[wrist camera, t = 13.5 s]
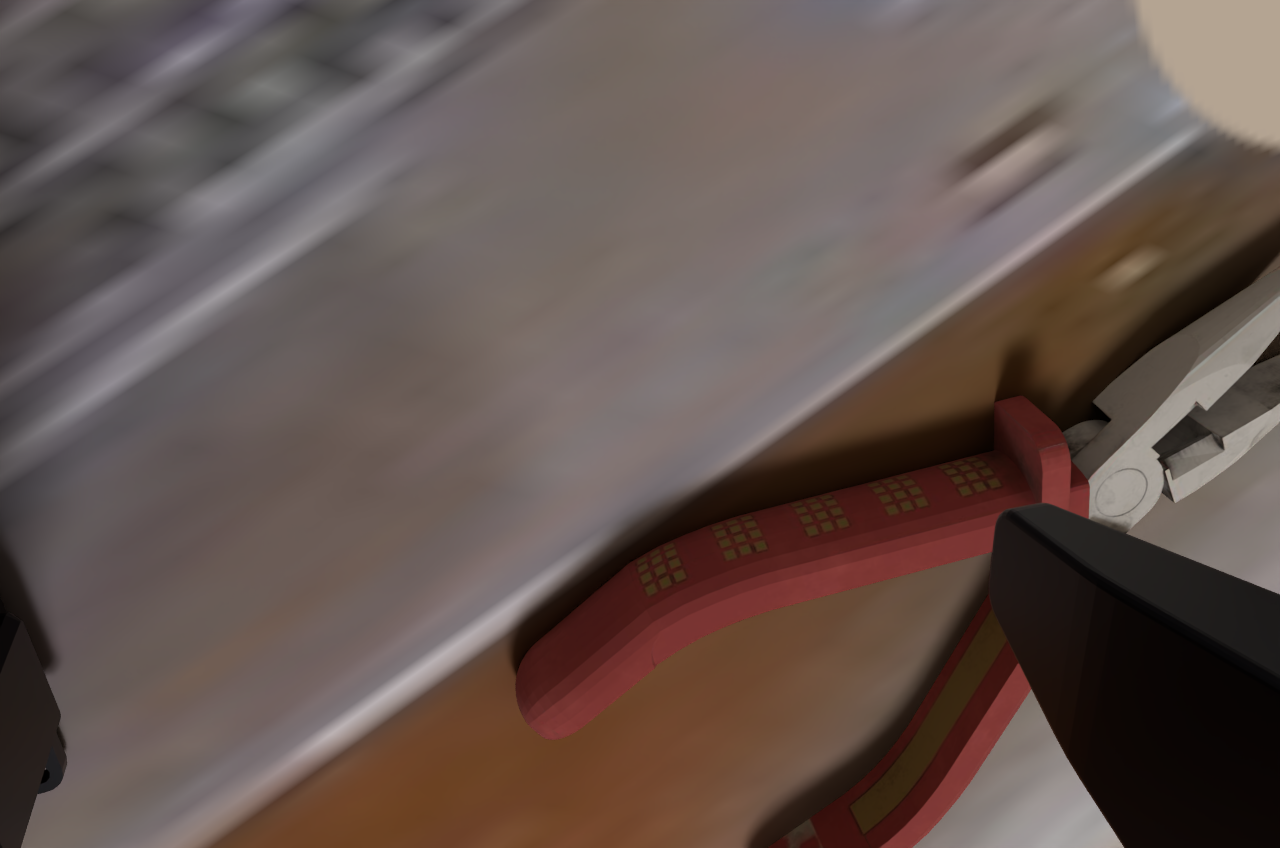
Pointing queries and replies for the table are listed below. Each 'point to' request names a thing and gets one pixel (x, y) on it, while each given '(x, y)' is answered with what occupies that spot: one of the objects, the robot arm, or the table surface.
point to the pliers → (925, 559)
